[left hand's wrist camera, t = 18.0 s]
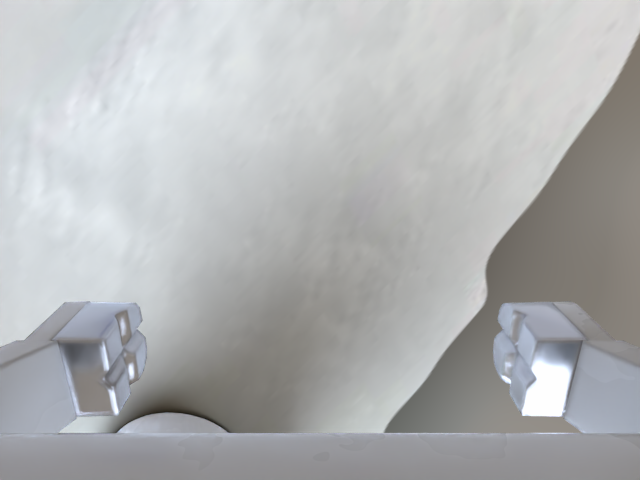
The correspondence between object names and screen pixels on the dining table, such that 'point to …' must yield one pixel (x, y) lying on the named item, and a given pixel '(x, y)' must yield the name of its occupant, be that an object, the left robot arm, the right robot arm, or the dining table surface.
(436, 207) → the dining table surface
